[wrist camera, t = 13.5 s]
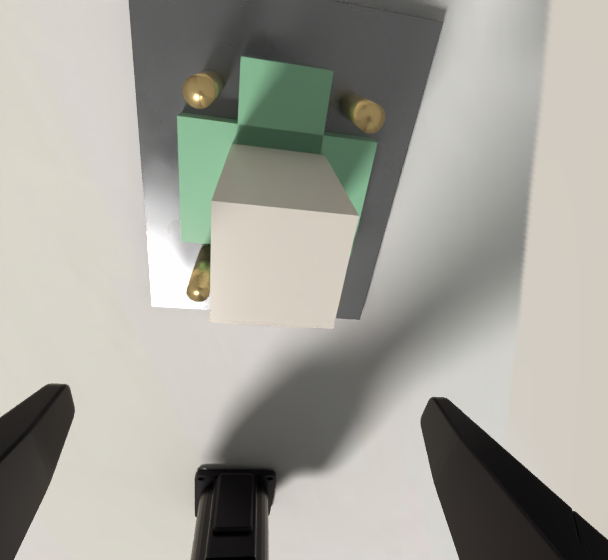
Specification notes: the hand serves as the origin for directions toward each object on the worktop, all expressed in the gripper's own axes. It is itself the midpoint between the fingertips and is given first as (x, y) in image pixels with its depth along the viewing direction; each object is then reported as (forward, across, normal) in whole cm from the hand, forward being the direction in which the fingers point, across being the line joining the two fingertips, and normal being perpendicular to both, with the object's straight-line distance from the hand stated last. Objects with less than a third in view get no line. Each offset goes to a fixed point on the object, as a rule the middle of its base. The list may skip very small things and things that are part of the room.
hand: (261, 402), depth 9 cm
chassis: (+12, 0, -2) cm, 12 cm away
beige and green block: (+11, 0, -2) cm, 11 cm away
